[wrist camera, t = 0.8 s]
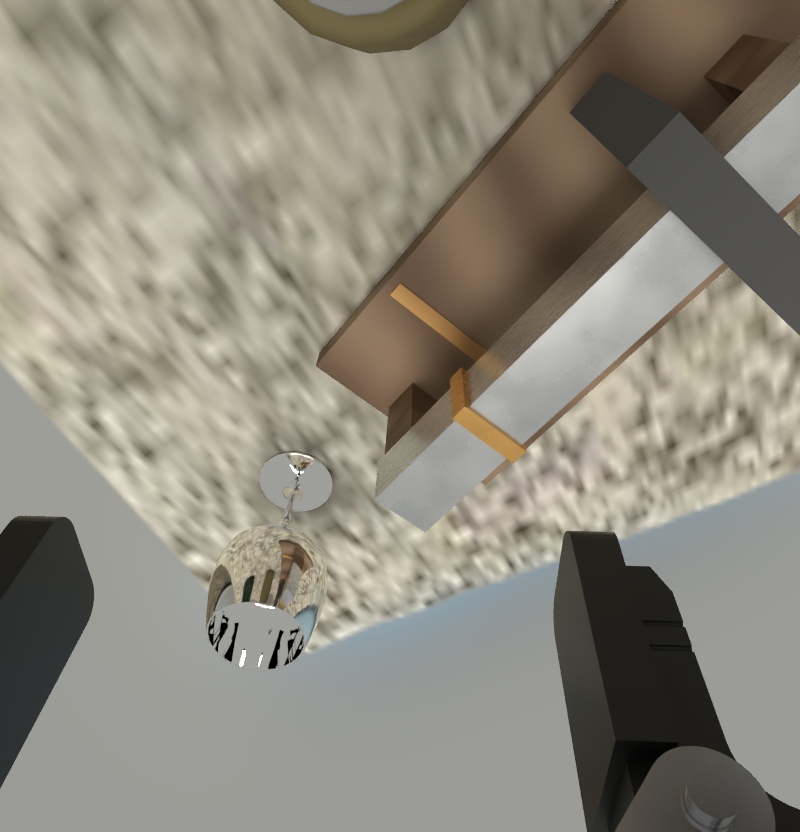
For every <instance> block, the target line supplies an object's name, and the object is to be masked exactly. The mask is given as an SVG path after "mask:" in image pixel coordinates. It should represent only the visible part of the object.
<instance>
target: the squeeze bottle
mask: <svg viewBox="0 0 800 832" xmlns="http://www.w3.org/2000/svg"><path fill="white" fill-rule="evenodd" d="M274 1H275V2H276V3H277V4H278V5H279V6H280V7H281V8H283V9H284V10H285V11H286V12H287V13H288V14H289V15H290V16H291V17H293V18H294V19H295V20H296V21H297V22H298V23H299V24H300V25H301V26H302V27H304V28H305V29H306V30H307V31H308V32H309V33H310V34H313V35H316V36H319V37H321V38H324V39H327V40H330V41H333V42H336V43H338V44H341V45H344V46H347V47H350V48H353V49H356V50H360V51H363V52H366V53H379V52H389V51H400V50H410V49H412V48H414V47H415V46H417V45H419V44H420V43H422V42H424V41H426V40H427V39H429V38H431V37H433V36H434V35H436V34H438V33H439V32H441V31H443V30H445V29H446V28H447V27H448V26H449V25H450V23H451V22H452V21H453V20H454V18H455V17H456V16H457V14H458V13H459V12H460V10H461V9H462V8H463V7H464V5H465V4H466V3H467V1H468V0H274Z"/></svg>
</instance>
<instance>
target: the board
mask: <svg viewBox="0 0 800 832" xmlns="http://www.w3.org/2000/svg"><path fill="white" fill-rule="evenodd" d="M799 35H800V0H618V1H617V2H616V4H615V5H614V6H613V7H612V8H611V10H610V11H609V12H608V13H607V14H606V15H605V17H604V18H603V19H602V20H601V21H600V23H599V24H598V25H597V26H596V27H595V28H594V30H593V31H592V32H591V33H590V34H589V36H588V37H587V38H586V39H585V40H584V41H583V43H582V44H581V45H580V46H579V47H578V49H577V50H576V51H575V52H574V53H573V54H572V56H571V57H570V58H569V59H568V60H567V62H566V63H565V64H564V65H563V66H562V67H561V69H560V70H559V71H558V72H557V73H556V74H555V76H554V77H553V78H552V79H551V80H550V82H549V83H548V84H547V85H546V86H545V87H544V89H543V90H542V91H541V92H540V93H539V95H538V96H537V97H536V98H535V99H534V100H533V102H532V103H531V104H530V105H529V106H528V108H527V109H526V110H525V111H524V112H523V113H522V115H521V116H520V117H519V118H518V119H517V121H516V122H515V123H514V124H513V125H512V126H511V128H510V129H509V130H508V131H507V132H506V134H505V135H504V136H503V137H502V138H501V139H500V141H499V142H498V143H497V144H496V145H495V147H494V148H493V149H492V150H491V151H490V152H489V154H488V155H487V156H486V157H485V158H484V160H483V161H482V162H481V163H480V164H479V165H478V167H477V168H476V169H475V170H474V171H473V173H472V174H471V175H470V176H469V177H468V178H467V180H466V181H465V182H464V183H463V184H462V186H461V187H460V188H459V189H458V190H457V191H456V193H455V194H454V195H453V196H452V197H451V199H450V200H449V201H448V202H447V203H446V204H445V206H444V207H443V208H442V209H441V210H440V212H439V213H438V214H437V215H436V216H435V217H434V219H433V220H432V221H431V222H430V223H429V225H428V226H427V227H426V228H425V229H424V230H423V232H422V233H421V234H420V235H419V236H418V238H417V239H416V240H415V241H414V242H413V243H412V245H411V246H410V247H409V248H408V249H407V250H406V252H405V253H404V254H403V255H402V256H401V258H400V259H399V260H398V261H397V262H396V263H395V265H394V266H393V267H392V268H391V269H390V271H389V272H388V273H387V274H386V275H385V276H384V278H383V279H382V280H381V281H380V282H379V284H378V285H377V286H376V287H375V288H374V289H373V291H372V292H371V293H370V294H369V295H368V297H367V298H366V299H365V300H364V301H363V302H362V304H361V305H360V306H359V307H358V308H357V310H356V311H355V312H354V313H353V314H352V315H351V317H350V318H349V319H348V320H347V321H346V323H345V324H344V325H343V326H342V327H341V328H340V330H339V331H338V332H337V333H336V334H335V336H334V337H333V338H332V339H331V340H330V341H329V343H328V344H327V345H326V346H325V347H324V349H323V350H322V351H321V352H320V353H319V357H318V360H317V364H316V366H317V367H318V368H319V369H321V370H322V371H324V372H325V373H327V374H328V375H329V376H331V377H332V378H334V379H335V380H336V381H338V382H339V383H341V384H342V385H344V386H345V387H346V388H348V389H349V390H351V391H352V392H354V393H355V394H356V395H358V396H359V397H361V398H362V399H363V400H365V401H366V402H368V403H369V404H371V405H372V406H373V407H375V408H376V409H378V410H379V411H381V412H382V413H383V414H385V415H386V416H388V424H387V435H386V447H385V454H386V453H387V452H388V451H389V450H390V449H391V448H392V447H393V446H394V445H395V444H396V443H397V442H398V441H399V440H400V439H401V438H402V437H403V436H404V435H405V434H406V433H407V432H408V431H409V430H410V429H411V428H412V427H413V426H414V425H415V424H416V423H417V422H418V421H419V420H420V419H421V418H422V417H423V416H424V415H425V414H426V413H427V412H428V411H429V410H430V409H431V408H432V406H433V405H434V404H435V403H436V402H437V401H438V400H439V399H440V398H441V397H442V396H443V395H444V394H445V393H446V392H447V391H448V390H449V389H450V378H451V377H452V376H453V375H454V374H455V373H456V372H457V371H458V370H459V369H460V368H461V367H462V368H463V369H465V370H466V371H468V370H469V369H470V368H471V367H472V366H473V365H474V364H475V363H476V362H477V361H478V360H479V359H480V358H481V357H482V356H483V355H484V354H485V353H486V352H487V351H488V350H489V349H490V348H491V347H492V346H493V345H494V344H495V343H496V342H497V341H498V340H499V339H500V338H501V337H502V336H503V335H504V334H505V333H506V332H507V331H508V330H509V329H510V328H511V327H512V326H513V325H514V324H515V323H516V322H517V320H518V319H519V318H520V317H521V316H522V315H523V314H524V313H525V312H526V311H527V310H528V309H529V308H530V307H531V306H532V305H533V304H534V303H535V302H536V301H537V300H538V299H539V298H540V297H541V296H542V295H543V294H544V293H545V292H546V291H547V290H548V289H549V288H550V287H551V286H552V285H553V284H554V283H555V282H556V281H557V280H558V279H559V278H560V277H561V276H562V275H563V274H564V273H565V272H566V271H567V270H568V269H569V268H570V267H571V266H572V265H573V264H574V263H575V262H576V261H577V260H578V259H579V258H580V257H581V256H582V255H583V254H584V253H585V252H586V251H587V250H588V249H589V248H590V247H591V246H592V245H593V244H594V243H595V242H596V241H597V240H598V239H599V238H600V237H601V236H602V234H603V233H604V232H605V231H606V230H607V229H608V228H609V227H610V226H611V225H612V224H613V223H614V222H615V221H616V220H617V219H618V218H619V217H620V216H621V215H622V214H623V213H624V212H625V211H626V210H627V209H628V208H629V207H630V206H631V205H632V204H633V203H634V202H635V201H636V200H637V199H638V198H639V197H640V196H641V195H642V194H643V193H644V192H645V191H646V190H647V189H648V188H647V187H646V186H645V185H644V184H643V183H642V182H641V181H640V180H638V179H637V178H636V177H635V176H634V175H633V174H632V173H631V172H630V171H629V170H628V169H627V168H626V167H625V166H624V165H623V164H622V163H621V162H620V161H619V160H618V159H617V158H616V157H615V156H614V155H613V154H612V153H611V152H610V151H608V150H607V149H606V148H605V147H604V146H603V145H602V144H601V143H600V142H599V141H598V140H597V139H596V138H595V137H594V136H593V135H592V134H591V133H590V132H589V131H588V130H587V129H586V128H585V127H584V126H583V125H582V124H581V123H580V122H579V121H577V120H576V119H575V118H574V117H573V116H572V115H571V114H570V112H571V110H572V109H573V108H574V107H575V106H576V105H577V104H578V103H579V101H580V100H581V99H582V98H583V97H584V96H585V95H586V93H587V92H588V91H589V90H590V89H591V88H592V87H593V85H594V84H595V83H596V82H597V81H598V80H599V79H600V78H601V76H602V75H603V74H604V73H605V72H607V73H609V74H611V75H613V76H614V77H616V78H618V79H620V80H622V81H624V82H626V83H627V84H629V85H631V86H633V87H635V88H637V89H638V90H640V91H642V92H644V93H646V94H648V95H650V96H651V97H653V98H655V99H657V100H659V101H661V102H662V103H664V104H666V105H668V106H670V107H672V108H673V109H675V110H677V111H679V112H680V113H681V114H682V115H683V116H684V117H685V118H686V119H687V120H688V121H689V122H690V123H691V124H692V125H693V126H694V127H695V128H696V129H697V130H698V131H699V132H700V133H701V134H702V133H703V132H704V131H705V130H706V129H707V128H708V127H709V126H710V125H711V124H712V123H713V122H714V121H715V120H716V119H717V118H718V117H719V116H720V115H721V114H722V113H723V112H724V111H725V110H726V109H727V108H728V107H729V106H730V105H731V104H732V103H733V102H734V101H735V100H736V99H737V98H738V97H739V96H740V95H741V94H742V93H743V92H744V91H745V90H746V89H747V88H748V87H749V86H750V85H751V84H752V83H753V82H754V81H755V80H756V79H757V78H758V77H759V76H760V75H761V74H762V73H763V72H764V71H765V70H766V69H767V68H768V67H769V66H770V65H771V63H772V62H773V61H774V60H775V59H776V58H777V57H778V56H779V55H780V54H781V53H782V52H783V51H784V50H785V49H786V48H787V47H788V46H789V45H790V44H791V43H792V42H793V41H794V40H795V39H796V38H797V37H798V36H799ZM799 203H800V194H799V195H798V196H797V197H796V198H795V199H794V200H792V201H791V202H790V203H789V204H788V205H787V206H786V207H785V208H784V209H782V210H781V211H780V212H779V213H778V214H779V215H780V216H781V217H782V219H783V218H784V217H785V216H786V215H787V214H788V213H789V212H790V211H792V210H793V209H794V208H795V207H796V206H797V205H798V204H799ZM727 268H728V266H727V265H726V264H725V263H723V264H722V265H720V266H719V267H718V268H717V269H716V270H715V271H714V272H713V273H712V274H711V275H709V276H708V277H707V278H706V279H705V280H704V281H703V282H702V283H701V284H699V285H698V286H697V287H696V288H695V289H694V290H693V291H692V292H691V293H689V294H688V295H687V296H686V297H685V298H684V299H683V300H682V301H681V302H680V303H678V304H677V305H676V306H675V307H674V308H673V309H672V310H671V311H670V312H668V313H667V314H666V315H665V316H664V317H663V318H662V319H661V320H660V321H659V322H657V323H656V324H655V325H654V326H653V327H652V328H651V329H650V330H649V331H647V332H646V333H645V334H644V335H643V336H642V337H641V338H640V339H639V340H637V341H636V342H635V343H634V344H633V345H632V346H631V347H630V348H629V349H628V350H626V351H625V352H624V353H623V354H622V355H621V356H620V357H619V358H618V359H616V360H615V361H614V362H613V363H612V364H611V365H610V366H609V367H608V368H606V369H605V370H604V371H603V372H602V373H601V374H600V375H599V376H598V377H597V378H595V379H594V380H593V381H592V382H591V383H590V384H589V385H588V386H587V387H585V388H584V389H583V390H582V391H581V392H580V393H579V394H578V395H577V396H576V397H574V398H573V399H572V400H571V401H570V402H569V403H568V404H567V405H566V406H564V407H563V408H562V409H561V410H560V411H559V412H558V413H557V414H556V415H554V416H553V417H552V418H551V419H550V420H549V421H548V422H547V423H546V424H545V425H543V426H542V427H541V428H540V429H539V430H538V431H537V432H536V433H535V434H533V435H532V436H531V437H530V438H529V439H528V440H527V441H526V442H525V448H527V447H529V446H530V445H531V444H532V443H533V442H534V441H535V440H536V439H537V438H539V437H540V436H541V435H542V434H543V433H544V432H545V431H546V430H547V429H549V428H550V427H551V426H552V425H553V424H554V423H555V422H556V421H558V420H559V419H560V418H561V417H562V416H563V415H564V414H565V413H566V412H568V411H569V410H570V409H571V408H572V407H573V406H574V405H575V404H576V403H578V402H579V401H580V400H581V399H582V398H583V397H584V396H585V395H587V394H588V393H589V392H590V391H591V390H592V389H593V388H594V387H595V386H597V385H598V384H599V383H600V382H601V381H602V380H603V379H604V378H605V377H607V376H608V375H609V374H610V373H611V372H612V371H613V370H614V369H615V368H617V367H618V366H619V365H620V364H621V363H622V362H623V361H624V360H626V359H627V358H628V357H629V356H630V355H631V354H632V353H633V352H634V351H636V350H637V349H638V348H639V347H640V346H641V345H642V344H643V343H644V342H646V341H647V340H648V339H649V338H650V337H651V336H652V335H653V334H654V333H656V332H657V331H658V330H659V329H660V328H661V327H662V326H663V325H665V324H666V323H667V322H668V321H669V320H670V319H671V318H672V317H673V316H675V315H676V314H677V313H678V312H679V311H680V310H681V309H682V308H683V307H685V306H686V305H687V304H688V303H689V302H690V301H691V300H692V299H693V298H695V297H696V296H697V295H698V294H699V293H700V292H701V291H702V290H704V289H705V288H706V287H707V286H708V285H709V284H710V283H711V282H712V281H714V280H715V279H716V278H717V277H718V276H719V275H720V274H721V273H722V272H724V271H725V270H726V269H727ZM510 463H511V462H510V461H509V460H508V459H506V460H505V461H504V462H502V463H501V464H500V465H499V466H498V467H497V468H496V469H495V470H494V471H493V472H491V473H490V474H489V475H488V476H487V477H486V478H485V479H484V480H483V481H481V483H483V484H484V485H486V484H487V483H488V482H490V481H491V480H492V479H493V478H494V477H495V476H496V475H497V474H498V473H500V472H501V471H502V470H503V469H504V468H505V467H506V466H507V465H508V464H510Z"/></svg>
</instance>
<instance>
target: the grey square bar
mask: <svg viewBox="0 0 800 832" xmlns="http://www.w3.org/2000/svg"><path fill="white" fill-rule="evenodd" d="M702 135H703V137H704V138H705V139H706V140H707V141H708V142H709V143H710V144H711V145H712V146H713V147H714V148H715V149H716V150H717V151H718V152H719V153H720V154H721V155H722V156H723V157H724V158H725V159H726V160H727V161H728V162H729V164H730V165H731V166H732V167H733V168H734V169H735V170H736V171H737V172H738V173H739V174H740V175H741V176H742V177H743V178H744V179H745V180H746V181H747V182H748V183H749V184H750V185H751V186H752V187H753V188H754V189H755V191H756V192H757V193H758V194H759V195H760V196H761V197H762V198H763V199H764V200H765V201H766V202H767V203H768V204H769V205H770V206H771V207H772V208H773V209H774V210H775V211H776V212H777V213H779V212H780V211H781V210H782V209H784V208H785V207H786V206H787V205H788V204H789V203H790V202H791V201H792V200H794V199H795V198H796V197H797V196H798V195H799V194H800V35H799V36H798V37H797V38H796V39H795V40H794V41H793V42H792V43H791V44H790V45H789V46H788V47H787V48H786V49H785V50H784V51H783V52H782V53H781V54H780V55H779V56H778V57H777V58H776V59H775V60H774V61H773V62H772V63H771V65H770V66H769V67H768V68H767V69H766V70H765V71H764V72H763V73H762V74H761V75H760V76H759V77H758V78H757V79H756V80H755V81H754V82H753V83H752V84H751V85H750V86H749V87H748V88H747V89H746V90H745V91H744V92H743V93H742V94H741V95H740V96H739V97H738V98H737V99H736V100H735V101H734V102H733V103H732V104H731V105H730V106H729V107H728V108H727V109H726V110H725V111H724V112H723V113H722V114H721V115H720V116H719V117H718V118H717V119H716V120H715V121H714V122H713V123H712V124H711V125H710V126H709V127H708V128H707V129H706V130H705V131H704V132H703V133H702ZM723 263H724V262H723V261H722V260H721V259H720V258H719V257H718V256H717V255H716V254H715V253H714V252H713V251H712V250H711V249H710V248H709V247H708V246H707V245H706V244H705V243H704V242H703V241H702V240H701V239H699V238H698V237H697V236H696V235H695V234H694V233H693V232H692V231H691V230H690V229H689V228H688V227H687V226H686V225H685V224H684V223H683V222H682V221H681V220H680V219H679V218H678V217H677V216H676V215H675V214H674V213H673V212H672V211H671V210H669V209H668V208H667V207H666V206H665V205H664V204H663V203H662V202H661V201H660V200H659V199H658V198H657V197H656V196H655V195H654V194H653V193H652V192H651V191H650V190H649V189H647V190H646V191H645V192H644V193H643V194H642V195H641V196H640V197H639V198H638V199H637V200H636V201H635V202H634V203H633V204H632V205H631V206H630V207H629V208H628V209H627V210H626V211H625V212H624V213H623V214H622V215H621V216H620V217H619V218H618V219H617V220H616V221H615V222H614V223H613V224H612V225H611V226H610V227H609V228H608V229H607V230H606V231H605V232H604V233H603V234H602V236H601V237H600V238H599V239H598V240H597V241H596V242H595V243H594V244H593V245H592V246H591V247H590V248H589V249H588V250H587V251H586V252H585V253H584V254H583V255H582V256H581V257H580V258H579V259H578V260H577V261H576V262H575V263H574V264H573V265H572V266H571V267H570V268H569V269H568V270H567V271H566V272H565V273H564V274H563V275H562V276H561V277H560V278H559V279H558V280H557V281H556V282H555V283H554V284H553V285H552V286H551V287H550V288H549V289H548V290H547V291H546V292H545V293H544V294H543V295H542V296H541V297H540V298H539V299H538V300H537V301H536V302H535V303H534V304H533V305H532V306H531V307H530V308H529V309H528V310H527V311H526V312H525V313H524V314H523V315H522V316H521V317H520V318H519V319H518V320H517V322H516V323H515V324H514V325H513V326H512V327H511V328H510V329H509V330H508V331H507V332H506V333H505V334H504V335H503V336H502V337H501V338H500V339H499V340H498V341H497V342H496V343H495V344H494V345H493V346H492V347H491V348H490V349H489V350H488V351H487V352H486V353H485V354H484V355H483V356H482V357H481V358H480V359H479V360H478V361H477V362H476V363H475V364H474V365H473V366H472V367H471V368H470V369H469V370H468V371H466V370H465V369H463V368H462V367H461V368H460V369H459V370H458V371H457V372H456V373H455V374H454V375H453V376H452V377H451V378H450V389H449V390H448V391H447V392H446V393H445V394H444V395H443V396H442V397H441V398H440V399H439V400H438V401H437V402H436V403H435V404H434V405H433V406H432V408H431V409H430V410H429V411H428V412H427V413H426V414H425V415H424V416H423V417H422V418H421V419H420V420H419V421H418V422H417V423H416V424H415V425H414V426H413V427H412V428H411V429H410V430H409V431H408V432H407V433H406V434H405V435H404V436H403V437H402V438H401V439H400V440H399V441H398V442H397V443H396V444H395V445H394V446H393V447H392V448H391V449H390V450H389V451H388V452H387V453H386V454H385V455H384V456H383V457H382V458H381V459H380V460H379V461H378V471H377V481H376V491H375V500H377V501H378V502H380V503H381V504H383V505H384V506H386V507H387V508H389V509H390V510H392V511H393V512H395V513H396V514H398V515H400V516H401V517H403V518H404V519H406V520H407V521H409V522H410V523H412V524H413V525H415V526H416V527H418V528H419V529H421V530H422V531H424V532H426V531H427V530H428V529H429V528H431V527H432V526H433V525H434V524H435V523H436V522H437V521H438V520H439V519H440V518H442V517H443V516H444V515H445V514H446V513H447V512H448V511H449V510H450V509H452V508H453V507H454V506H455V505H456V504H457V503H458V502H459V501H460V500H462V499H463V498H464V497H465V496H466V495H467V494H468V493H469V492H470V491H471V490H473V489H474V488H475V487H476V486H477V485H478V484H479V483H480V482H481V481H483V480H484V479H485V478H486V477H487V476H488V475H489V474H490V473H491V472H493V471H494V470H495V469H496V468H497V467H498V466H499V465H500V464H501V463H502V462H504V461H505V460H506V459H508V460H509V461H510V462H512V463H514V462H515V461H517V460H518V459H519V458H520V457H521V456H522V455H523V454H524V453H526V448H525V442H526V441H527V440H528V439H529V438H530V437H531V436H532V435H533V434H535V433H536V432H537V431H538V430H539V429H540V428H541V427H542V426H543V425H545V424H546V423H547V422H548V421H549V420H550V419H551V418H552V417H553V416H554V415H556V414H557V413H558V412H559V411H560V410H561V409H562V408H563V407H564V406H566V405H567V404H568V403H569V402H570V401H571V400H572V399H573V398H574V397H576V396H577V395H578V394H579V393H580V392H581V391H582V390H583V389H584V388H585V387H587V386H588V385H589V384H590V383H591V382H592V381H593V380H594V379H595V378H597V377H598V376H599V375H600V374H601V373H602V372H603V371H604V370H605V369H606V368H608V367H609V366H610V365H611V364H612V363H613V362H614V361H615V360H616V359H618V358H619V357H620V356H621V355H622V354H623V353H624V352H625V351H626V350H628V349H629V348H630V347H631V346H632V345H633V344H634V343H635V342H636V341H637V340H639V339H640V338H641V337H642V336H643V335H644V334H645V333H646V332H647V331H649V330H650V329H651V328H652V327H653V326H654V325H655V324H656V323H657V322H659V321H660V320H661V319H662V318H663V317H664V316H665V315H666V314H667V313H668V312H670V311H671V310H672V309H673V308H674V307H675V306H676V305H677V304H678V303H680V302H681V301H682V300H683V299H684V298H685V297H686V296H687V295H688V294H689V293H691V292H692V291H693V290H694V289H695V288H696V287H697V286H698V285H699V284H701V283H702V282H703V281H704V280H705V279H706V278H707V277H708V276H709V275H711V274H712V273H713V272H714V271H715V270H716V269H717V268H718V267H719V266H720V265H722V264H723Z"/></svg>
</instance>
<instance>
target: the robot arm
mask: <svg viewBox="0 0 800 832" xmlns="http://www.w3.org/2000/svg"><path fill="white" fill-rule="evenodd" d="M93 602H94V587H93V583H92V579H91V576H90V573H89V570H88V567H87V565H86V561H85V558H84V555H83V553H82V550H81V547H80V544H79V541H78V538H77V535H76V532H75V529H74V526H73V524H72V522H71V521H70V520H69V519H68V518H66V517H45V516H18V517H15V518H14V519H13V520H11V522H10V523H9V524H8V525H7V526H6V528H5V529H4V530H3V532H2V533H1V534H0V788H1V786H2V784H3V782H4V780H5V778H6V776H7V775H8V773H9V771H10V769H11V767H12V765H13V763H14V761H15V759H16V758H17V756H18V754H19V752H20V750H21V748H22V746H23V744H24V742H25V740H26V739H27V737H28V735H29V733H30V731H31V729H32V727H33V725H34V723H35V721H36V720H37V717H38V716H39V714H40V712H41V710H42V708H43V706H44V704H45V702H46V700H47V699H48V697H49V695H50V693H51V691H52V689H53V687H54V685H55V684H56V682H57V680H58V678H59V676H60V674H61V672H62V670H63V668H64V666H65V665H66V663H67V661H68V658H69V657H70V655H71V653H72V651H73V649H74V647H75V646H76V644H77V642H78V640H79V638H80V636H81V634H82V632H83V630H84V629H85V627H86V625H87V623H88V621H89V618H90V616H91V612H92V608H93ZM554 632H555V640H556V646H557V652H558V658H559V664H560V670H561V676H562V683H563V688H564V694H565V701H566V706H567V713H568V719H569V725H570V731H571V737H572V743H573V749H574V755H575V761H576V767H577V773H578V779H579V785H580V791H581V798H582V803H583V810H584V815H585V822H586V827H587V832H800V810H799V809H796V808H794V807H792V806H789V805H787V804H785V803H783V802H782V801H780V800H778V799H776V798H774V797H773V796H772V795H770V794H768V793H767V792H765V791H764V789H763V788H762V786H761V785H760V783H759V782H758V781H757V780H756V779H755V777H753V775H752V774H751V773H750V772H749V771H748V770H746V769H745V768H744V767H743V766H742V765H740V764H739V763H738V762H736V760H735V758H734V757H733V755H732V753H731V752H730V749H729V747H728V744H727V742H726V739H725V737H724V734H723V731H722V729H721V726H720V723H719V720H718V717H717V715H716V712H715V709H714V706H713V703H712V701H711V698H710V695H709V692H708V689H707V687H706V684H705V681H704V678H703V676H702V673H701V670H700V667H699V665H698V662H697V659H696V656H695V653H694V652H692V648H691V647H692V645H691V642H690V640H689V637H688V634H687V631H686V628H685V627H683V620H682V617H681V614H680V612H679V609H678V606H677V604H676V601H675V598H674V595H673V592H672V591H671V590H670V589H669V588H668V587H667V586H666V584H665V583H664V582H663V581H662V580H661V579H660V578H659V577H658V575H657V574H656V573H655V572H654V571H653V570H652V569H651V568H650V567H647V566H626V565H625V562H624V558H623V555H622V552H621V548H620V545H619V542H618V539H617V536H616V534H615V533H614V532H589V531H566V532H565V534H564V538H563V544H562V550H561V557H560V564H559V571H558V577H557V584H556V590H555V597H554Z"/></svg>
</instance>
